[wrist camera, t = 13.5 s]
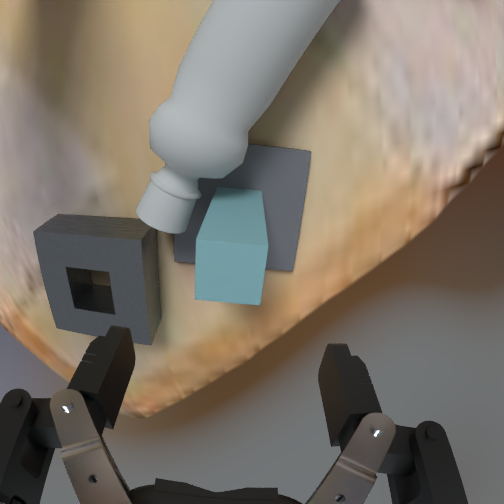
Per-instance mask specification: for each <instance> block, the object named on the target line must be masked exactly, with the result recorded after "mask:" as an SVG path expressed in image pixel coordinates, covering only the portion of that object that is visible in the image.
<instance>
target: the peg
mask: <svg viewBox="0 0 504 504" xmlns="http://www.w3.org/2000/svg"><path fill="white" fill-rule="evenodd" d="M267 252H268V238H267V230H266V222H265V214H264V206H263V199H262V191H259V190H249V189H238V188H227V187H217V189H216V191H215V194H214V196H213V198H212V201H211V203H210V206H209V208H208V211H207V213H206V216H205V218H204V221H203V223H202V226H201V228H200V231H199V233H198V236H197V238H196V260H195V299H197V300H206V301H217V302H227V303H239V304H251V305H260V302H261V295H262V288H263V281H264V274H265V267H266V260H267Z"/></svg>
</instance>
